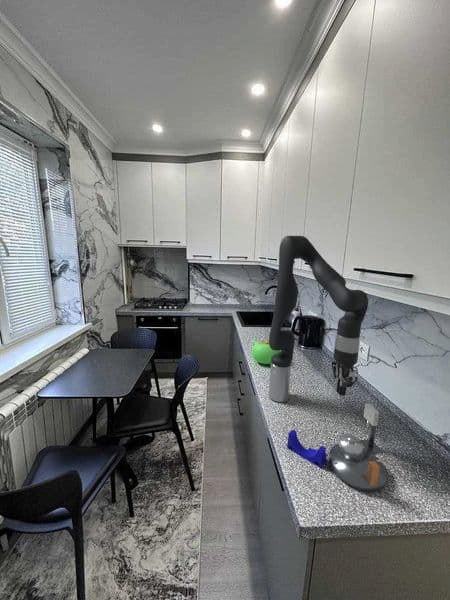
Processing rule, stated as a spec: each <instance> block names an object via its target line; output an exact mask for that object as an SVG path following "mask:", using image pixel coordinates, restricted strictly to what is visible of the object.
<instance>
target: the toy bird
mask: <svg viewBox="0 0 450 600" xmlns="http://www.w3.org/2000/svg"><path fill="white" fill-rule="evenodd" d="M251 342H252V344H254V345H253V346H252V348H251V357H252V358H253V360H254V361H255V362H257V363H260V364H263V365H271V358H272V356H273V355H275V354H277V353H279V352H280V351H281V350H272V349H271V348H270V346H269V340H260V341H259V340H255V339H251Z"/></svg>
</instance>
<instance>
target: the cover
mask: <svg viewBox="0 0 450 600" xmlns="http://www.w3.org/2000/svg"><path fill="white" fill-rule="evenodd" d="M338 439H339V440H338V444H339V446H338V450H339V452H340V454H341V455H342V456H344V457H345V458H347V459H349V460H353V461H358V460H360V459H361V458H362V451H363V448H364V447H363V443H362V442H361V440H362V439H359V438H358V437H357V436H355V435H352V434H349V433H343V434H341V435H339V438H338Z"/></svg>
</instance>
